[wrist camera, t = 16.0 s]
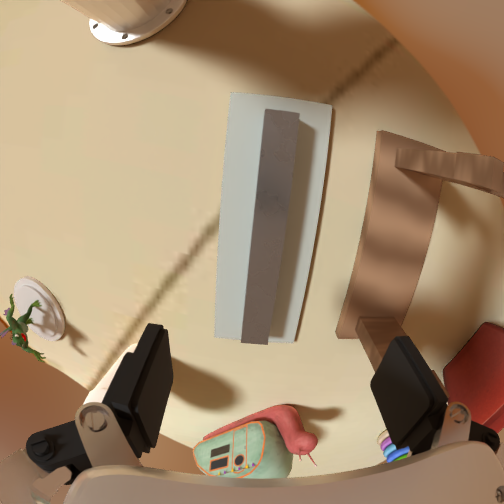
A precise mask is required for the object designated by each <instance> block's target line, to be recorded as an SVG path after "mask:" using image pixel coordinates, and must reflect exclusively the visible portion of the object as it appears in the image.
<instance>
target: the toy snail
mask: <svg viewBox="0 0 504 504" xmlns="http://www.w3.org/2000/svg"><path fill="white" fill-rule="evenodd" d="M317 442H318V439H317V437H316V436H315V434H312V433H308V432H305V430H304V427H303V424H302V422H301V419H300V416H299V414H298V412H297V410H296V409H295V408H293V407H292V406H289V405H277V406H273V407H270V408H267V409H265V410H262V411H260V412H257V413H254V414H252V415H249V416H247V417H245V418H243V419H240V420H238V421H235V422H233V423H231V424H228V425H226V426H224V427H222V428H219V429H217V430H215V431H214V432H212V433H210V434H208V435H206V436H205V437H204V438H203V441H201V442H199V443H198V444H197V445H196V446H195V447H194V449H193V452H192V453H193V456H194V459H195V462H196V465H197V466H198V468H199V469H200V470H201V471H202V472H203V473H205V474H206V475H207V476H217V477H230V478H256V479H269V478H287V476H288V475H289V473H290V471H291V469H292V460H293V454H296V455H299V457H300V455H306V454H308V456H309V457H310V459H311V460H312V461H313V459H312V458H311V456H310V454H309V453H310V452H311V451H312V450H313V449H314V448H315V447H316V445H317ZM299 461H301V457H300V459H299ZM313 463H314V461H313ZM314 464H315V463H314ZM314 466H317V465H316V464H315V465H314Z"/></svg>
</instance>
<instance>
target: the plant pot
mask: <svg viewBox="0 0 504 504" xmlns="http://www.w3.org/2000/svg"><path fill="white" fill-rule="evenodd" d="M443 378H444V385H445V389H446V390H447V392H448V394H449V395H450V396H449V398H448V399H449V400H448V401H447V402H448V405H449V404H450V403H452V402H461V403H463V404H465V405H466V406H467V407H468V409H469V410H470V412H471V420H472V421H474V422H477V423H479V424H481V425H484V426H486V427H489V428H491V429H493V430H495V431H496V433H499V432H500V431H501V430H502V428H504V328H502V327H499V326H497V325H494V324H491V323H488V322H485V323H484V324H483V325H482V326H481V327H480V328H479V330H478V331H477V332H476V333H475V334H474V336H473V337H472V338H471V339H470V340H469V342H468V343H467V344H466V345H465V346H464V347H463V349H462V350H461V351H460V352H459V353H458V354H457V355H456V356H455V357H454V359H453V360H452V361H451V362H450V363H449V364H448V365H447V366H446V367H445V368H444V370H443Z"/></svg>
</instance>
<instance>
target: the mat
mask: <svg viewBox="0 0 504 504" xmlns="http://www.w3.org/2000/svg"><path fill="white" fill-rule="evenodd" d="M265 109H274V110H282V111H289V112H296V113H300V117H299V127H298V136H297V145H296V154H295V162H294V171H293V179H292V187H291V194H290V202H289V210H288V217H287V224H286V231H285V238H284V245H283V252H282V259H281V265H280V272H279V278H278V285H277V291H276V297H275V303H274V310H273V316H272V321H271V327H270V333H269V339H268V342H276V343H294V339H295V334H296V330H297V326H298V321H299V317H300V312H301V308H302V303H303V298H304V294H305V289H306V284H307V279H308V274H309V269H310V263H311V258H312V252H313V247H314V241H315V235H316V229H317V223H318V217H319V211H320V204H321V198H322V191H323V184H324V176H325V169H326V161H327V152H328V144H329V135H330V125H331V114H332V105H328V104H323V103H318V102H312V101H306V100H300V99H293V98H286V97H279V96H270V95H260V94H249V93H234V92H231V95H230V104H229V114H228V123H227V134H226V144H225V156H224V167H223V180H222V193H221V207H220V222H219V238H218V256H217V277H216V301H215V334H214V337H216V338H225V339H236V340H241V333H242V321H243V311H244V301H245V291H246V282H247V272H248V262H249V252H250V243H251V233H252V223H253V214H254V204H255V194H256V185H257V175H258V166H259V156H260V147H261V137H262V128H263V118H264V112H265Z"/></svg>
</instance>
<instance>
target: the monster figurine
mask: <svg viewBox="0 0 504 504" xmlns="http://www.w3.org/2000/svg"><path fill="white" fill-rule="evenodd" d="M12 295H13V294H11V295H10V304H11V308H8V310H5V314H3V315H7V316H6V319H7V321H8V323H9V325H10V327H8V328H7V329H6V330H4V331H3V332H1V333H0V336H1V335H2V337H4V336H5V334H6V333H7V332H8V331H11V330H12V334H13V337H12V338H13V341H12V344H13V345H15V344H16V345H17V346H20V347H22V349H23V350H25V351H26V352H29V353H33V354H34V355H35V356H36V358H37V359H38V361H39V360H40V361H41V362H44V361H42V360H41V359H40V358H42V359H44V358H46V357H41V356H40V354H44V353H39V352H37V351H35V350H33V349H31V348H29V347H28V339H27V334H26V332H27V331H28V326H29V327H30V329H31V330H32V331H34V332H35V333H36V334H37V335H39V336H40V337H42V338H44V339H46V340H49V341H56V340H58V339H59V338H60V337H61V336H62V335H63V333H64V330H65V321H64V317H63V313H62V311H61V308H60V306H59V304H58V302H57V301H56V299H55V298H54V296H53V295H52V293H51V292H50V291H49V290H48V289H47V288H46V287H45V286H44V285H43V284H42V283H41V282H40V281H38V280H37V279H35V278H33V277H29V276H25V277H22V278H21V279H19V280H18V281H17V282H16V284H15V287H14V298H15V303H16V306H17V308H18V311H19V313H20V315H21V317H19V318H18V320H17V321H16V320H15V319H14V318H13V317H12V315H13V312H14V302H13V300H12V299H13V298H12ZM27 325H28V326H27Z"/></svg>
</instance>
